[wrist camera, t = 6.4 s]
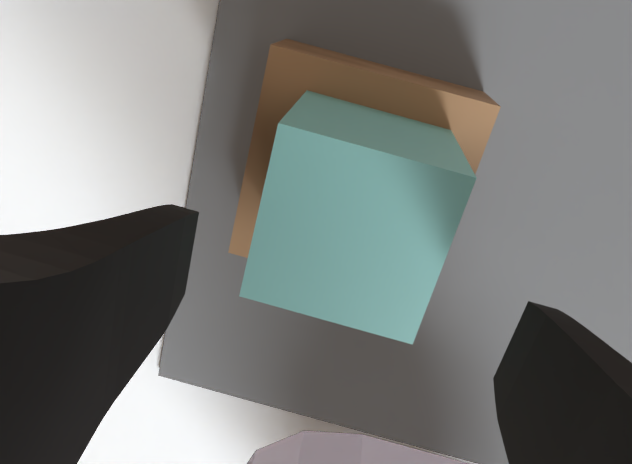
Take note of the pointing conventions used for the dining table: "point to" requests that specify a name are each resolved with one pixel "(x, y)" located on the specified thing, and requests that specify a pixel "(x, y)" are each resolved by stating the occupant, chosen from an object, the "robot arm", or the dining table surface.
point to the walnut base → (360, 88)
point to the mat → (473, 230)
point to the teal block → (356, 216)
